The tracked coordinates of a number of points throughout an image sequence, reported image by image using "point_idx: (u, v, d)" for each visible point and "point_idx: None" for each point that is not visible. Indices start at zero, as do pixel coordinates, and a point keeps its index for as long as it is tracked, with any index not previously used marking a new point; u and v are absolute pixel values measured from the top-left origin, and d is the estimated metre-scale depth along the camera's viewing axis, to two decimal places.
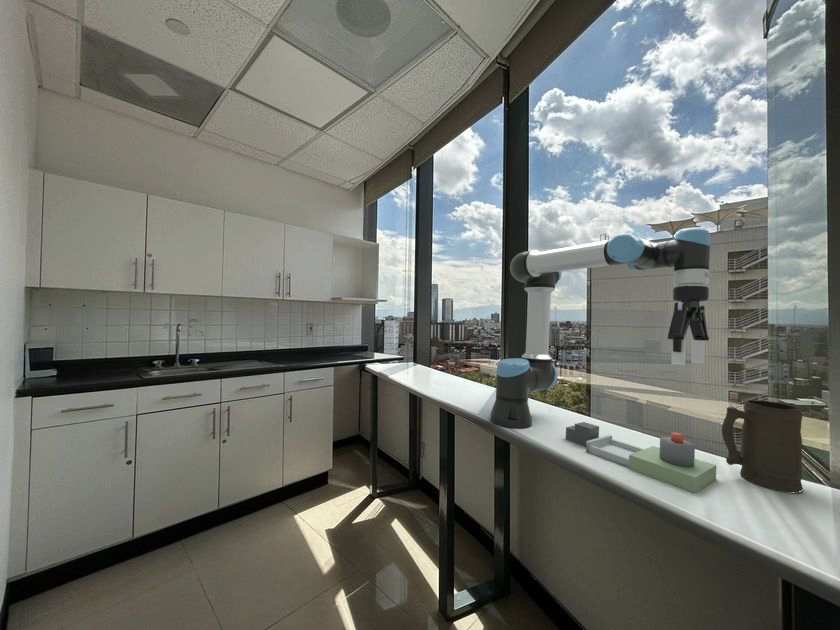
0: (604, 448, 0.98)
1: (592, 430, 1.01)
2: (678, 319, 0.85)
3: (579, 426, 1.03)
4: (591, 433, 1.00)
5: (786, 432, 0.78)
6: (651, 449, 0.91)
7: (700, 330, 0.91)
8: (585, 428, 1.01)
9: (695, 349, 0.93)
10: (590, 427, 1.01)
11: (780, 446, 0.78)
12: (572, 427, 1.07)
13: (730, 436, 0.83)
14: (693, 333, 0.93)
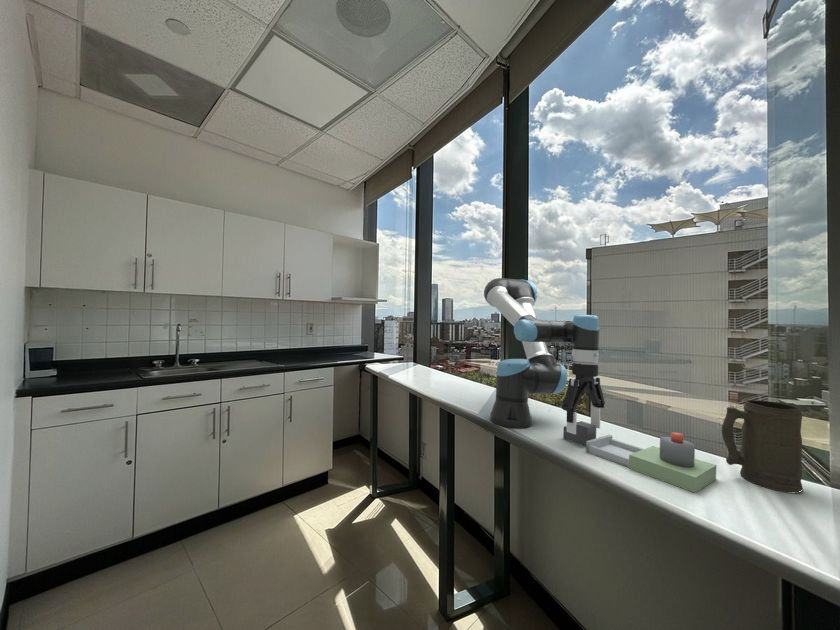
0: (604, 448, 0.98)
1: (590, 430, 1.01)
2: (570, 394, 1.00)
3: (577, 425, 1.03)
4: (588, 432, 1.01)
5: (786, 432, 0.78)
6: (651, 449, 0.91)
7: (596, 399, 1.06)
8: (582, 427, 1.02)
9: (593, 415, 1.08)
10: (587, 426, 1.02)
11: (780, 446, 0.78)
12: None
13: (730, 436, 0.83)
14: (591, 401, 1.08)
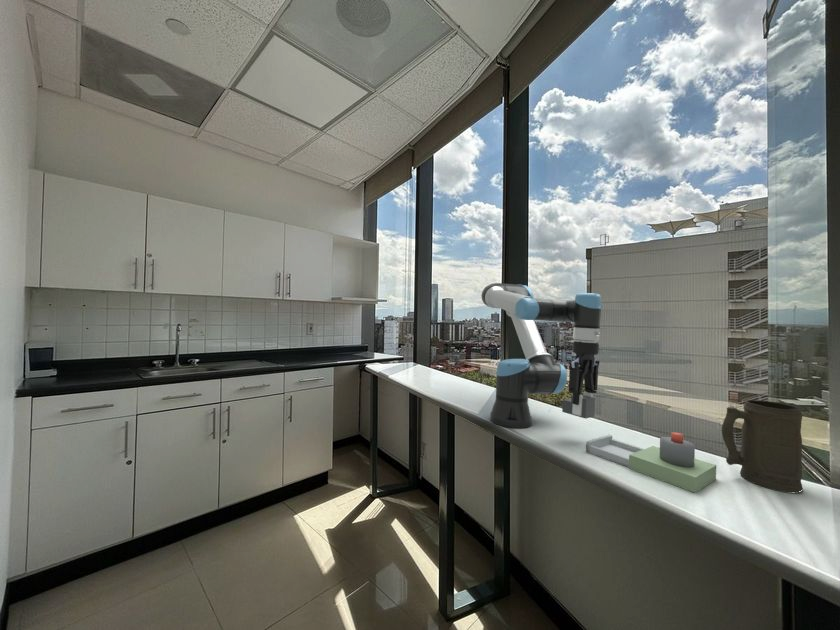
0: (604, 448, 0.98)
1: (588, 401, 1.02)
2: (573, 377, 1.01)
3: None
4: (587, 404, 1.02)
5: (786, 432, 0.78)
6: (651, 449, 0.91)
7: (590, 381, 1.06)
8: None
9: None
10: (586, 398, 1.03)
11: (780, 446, 0.78)
12: (569, 399, 1.08)
13: (730, 436, 0.83)
14: (585, 384, 1.07)
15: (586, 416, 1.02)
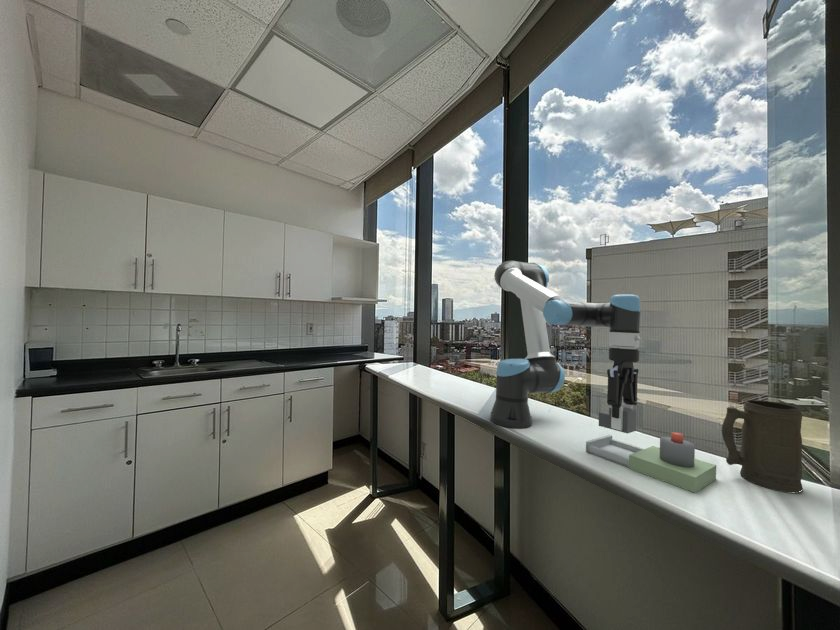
0: (604, 448, 0.98)
1: (630, 414, 0.92)
2: (612, 388, 0.91)
3: None
4: (628, 417, 0.92)
5: (786, 432, 0.78)
6: (651, 449, 0.91)
7: (630, 392, 0.95)
8: None
9: None
10: (627, 410, 0.93)
11: (780, 446, 0.78)
12: (605, 412, 0.98)
13: (730, 436, 0.83)
14: (623, 395, 0.97)
15: (628, 430, 0.91)
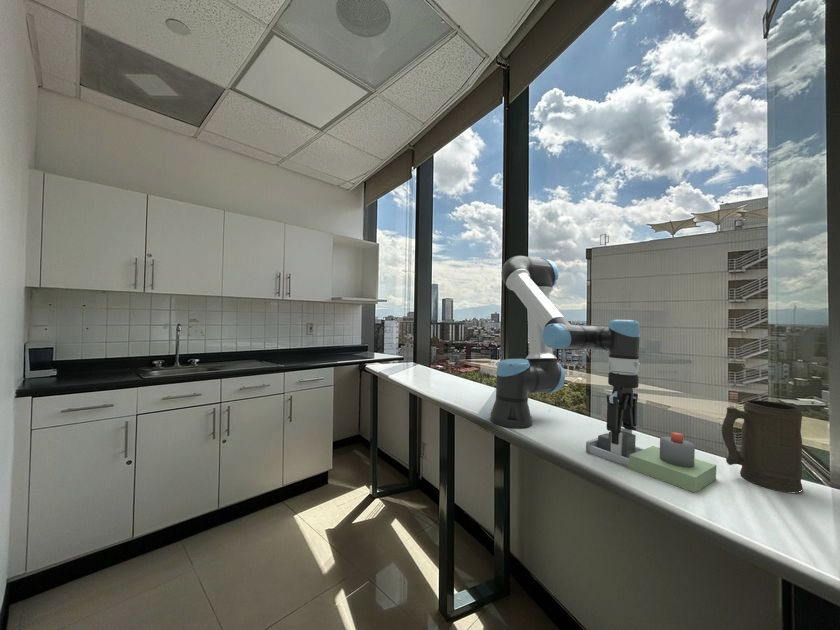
0: None
1: (629, 439, 0.92)
2: (612, 414, 0.91)
3: None
4: (628, 442, 0.91)
5: (786, 432, 0.78)
6: (651, 449, 0.91)
7: (629, 417, 0.95)
8: None
9: None
10: (626, 436, 0.92)
11: (780, 446, 0.78)
12: (605, 435, 0.98)
13: (730, 436, 0.83)
14: (623, 419, 0.97)
15: (627, 456, 0.91)
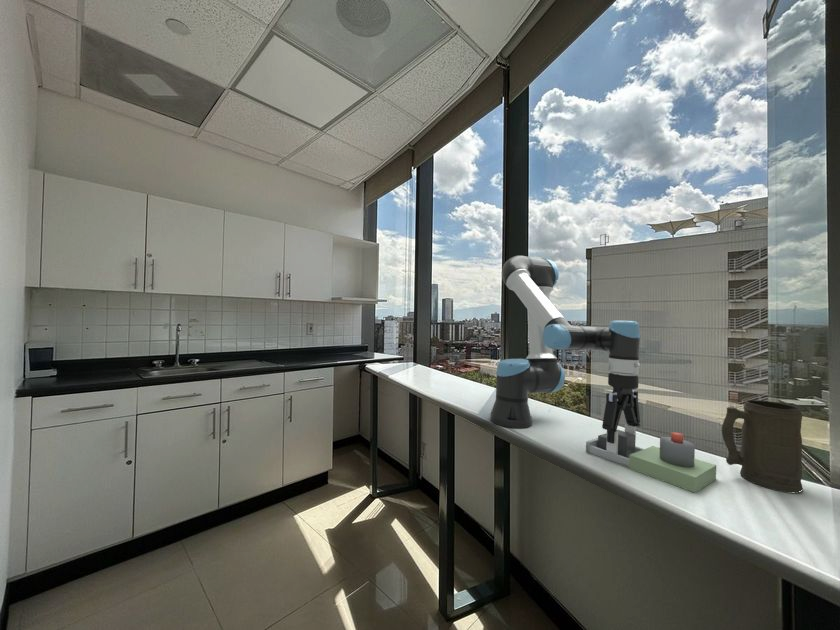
0: None
1: (629, 439, 0.92)
2: (609, 412, 0.91)
3: None
4: (628, 442, 0.91)
5: (786, 432, 0.78)
6: (651, 449, 0.91)
7: (632, 416, 0.96)
8: (621, 437, 0.92)
9: None
10: (626, 436, 0.92)
11: (780, 446, 0.78)
12: (605, 435, 0.98)
13: (730, 436, 0.83)
14: (626, 417, 0.98)
15: (627, 456, 0.91)
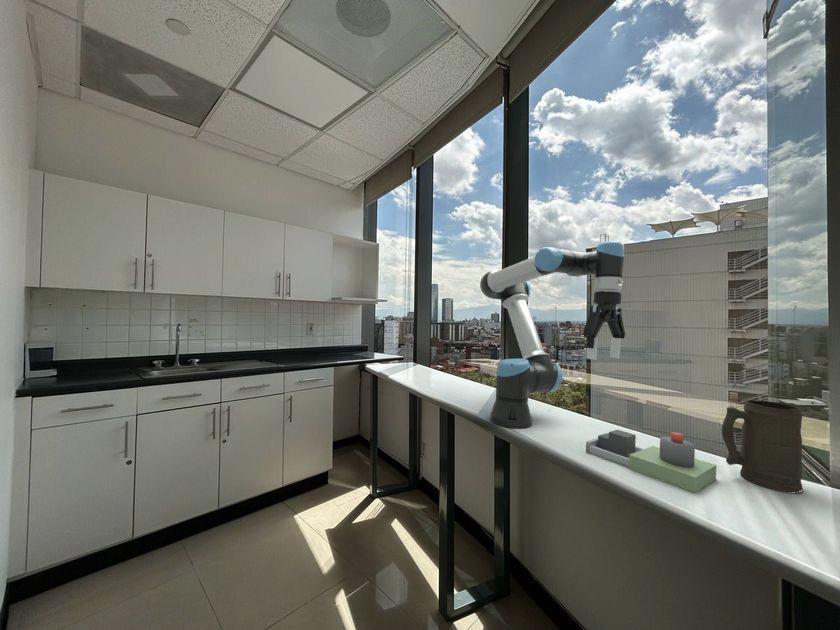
0: None
1: (629, 439, 0.92)
2: (591, 320, 0.99)
3: (614, 434, 0.94)
4: (628, 442, 0.91)
5: (786, 432, 0.78)
6: (651, 449, 0.91)
7: (616, 329, 1.05)
8: (621, 437, 0.92)
9: (613, 346, 1.07)
10: (626, 436, 0.92)
11: (780, 446, 0.78)
12: (605, 435, 0.98)
13: (730, 436, 0.83)
14: (612, 332, 1.07)
15: (627, 456, 0.91)
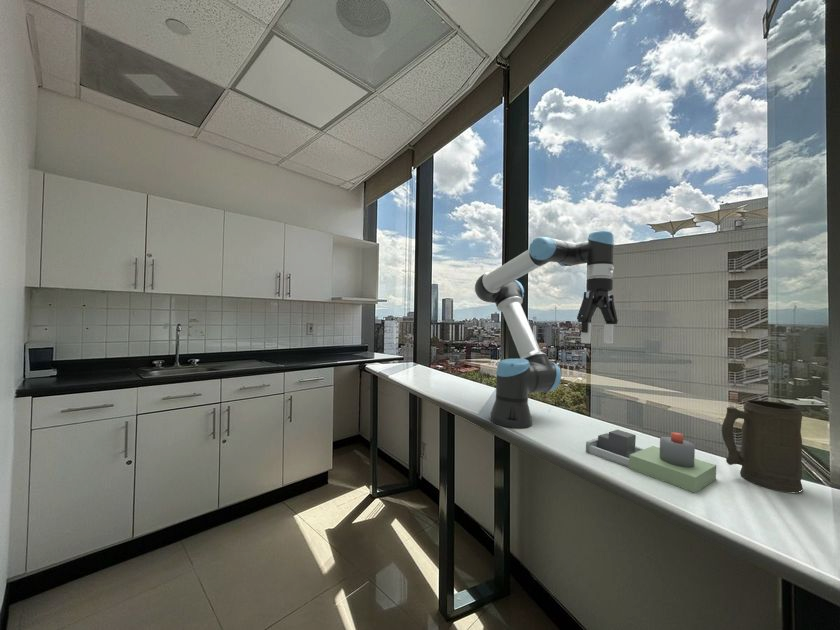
0: None
1: (629, 439, 0.92)
2: (585, 305, 1.02)
3: (614, 434, 0.94)
4: (628, 442, 0.91)
5: (786, 432, 0.78)
6: (651, 449, 0.91)
7: (609, 315, 1.09)
8: (621, 437, 0.92)
9: (606, 331, 1.11)
10: (626, 436, 0.92)
11: (780, 446, 0.78)
12: (605, 435, 0.98)
13: (730, 436, 0.83)
14: (605, 318, 1.11)
15: (627, 456, 0.91)
